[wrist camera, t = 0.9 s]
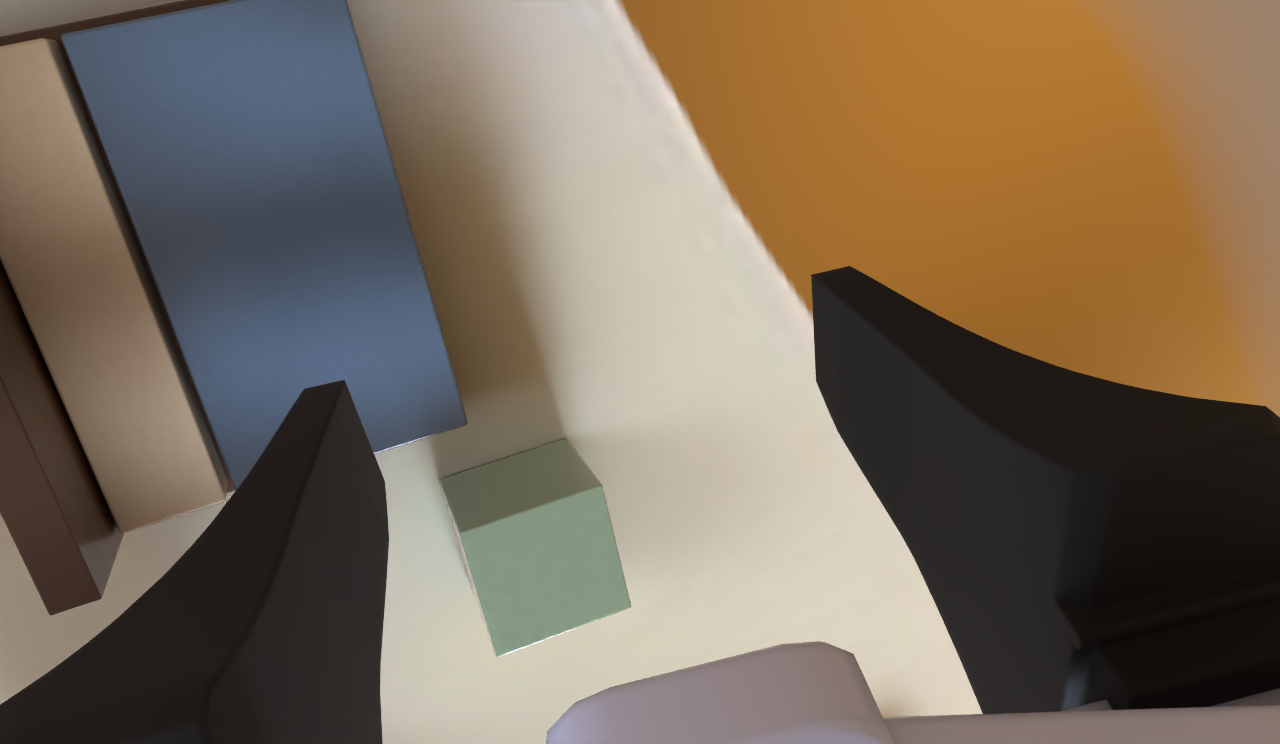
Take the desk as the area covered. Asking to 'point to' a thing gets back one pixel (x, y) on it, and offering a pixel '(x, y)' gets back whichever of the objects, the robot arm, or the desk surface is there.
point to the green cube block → (536, 545)
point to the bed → (192, 267)
